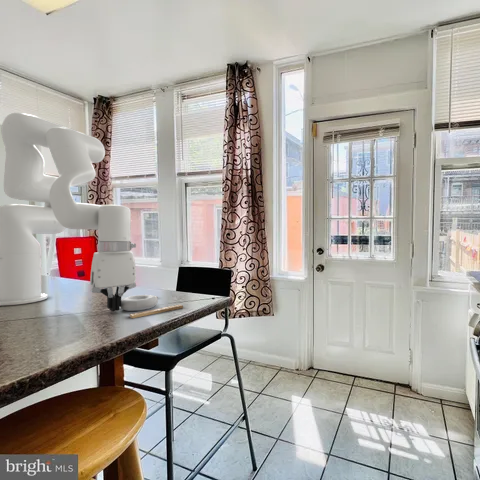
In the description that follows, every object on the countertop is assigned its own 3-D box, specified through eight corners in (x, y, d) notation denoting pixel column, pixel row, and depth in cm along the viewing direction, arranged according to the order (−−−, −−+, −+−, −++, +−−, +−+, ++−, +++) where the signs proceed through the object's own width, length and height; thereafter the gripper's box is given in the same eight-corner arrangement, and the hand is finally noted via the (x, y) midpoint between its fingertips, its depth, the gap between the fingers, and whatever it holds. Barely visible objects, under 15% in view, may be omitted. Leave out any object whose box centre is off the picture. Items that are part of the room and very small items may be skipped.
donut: (153, 302, 92) (116, 306, 85) (153, 292, 92) (117, 295, 85) (161, 309, 84) (122, 314, 78) (162, 298, 84) (122, 302, 78)
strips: (107, 305, 86) (107, 303, 86) (154, 297, 98) (154, 295, 97) (132, 318, 74) (132, 315, 74) (182, 308, 86) (183, 305, 86)
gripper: (138, 246, 87) (138, 303, 87) (77, 247, 75) (77, 313, 75) (148, 247, 83) (147, 307, 83) (85, 249, 71) (84, 318, 71)
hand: (114, 309), depth 79 cm, fingers closed
